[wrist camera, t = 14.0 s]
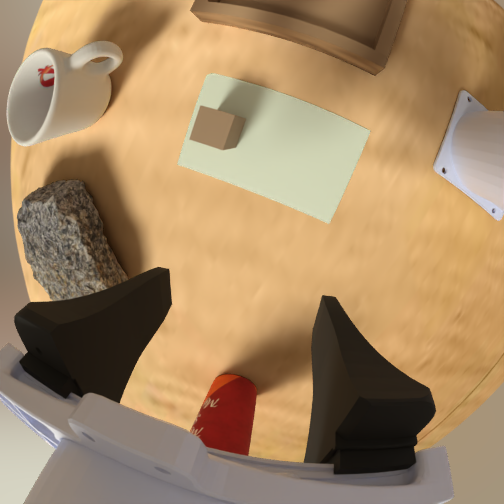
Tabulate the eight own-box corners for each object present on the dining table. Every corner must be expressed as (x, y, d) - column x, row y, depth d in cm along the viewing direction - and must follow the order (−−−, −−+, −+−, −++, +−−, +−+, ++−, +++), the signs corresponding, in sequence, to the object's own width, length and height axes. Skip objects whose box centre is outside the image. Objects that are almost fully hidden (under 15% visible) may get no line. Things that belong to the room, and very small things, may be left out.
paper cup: (202, 363, 30) (159, 464, 17) (267, 373, 29) (244, 485, 16) (208, 399, 33) (176, 485, 21) (264, 408, 32) (244, 500, 19)
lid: (369, 131, 18) (384, 130, 14) (328, 222, 21) (333, 240, 17) (209, 73, 18) (190, 61, 14) (179, 163, 21) (155, 171, 18)
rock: (38, 188, 25) (77, 295, 31) (-1, 206, 19) (47, 322, 25) (103, 161, 22) (146, 298, 28) (53, 177, 16) (115, 337, 22)
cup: (136, 26, 16) (77, 2, 9) (158, 93, 18) (95, 84, 11) (59, 87, 19) (1, 90, 12) (76, 149, 22) (15, 164, 14)
